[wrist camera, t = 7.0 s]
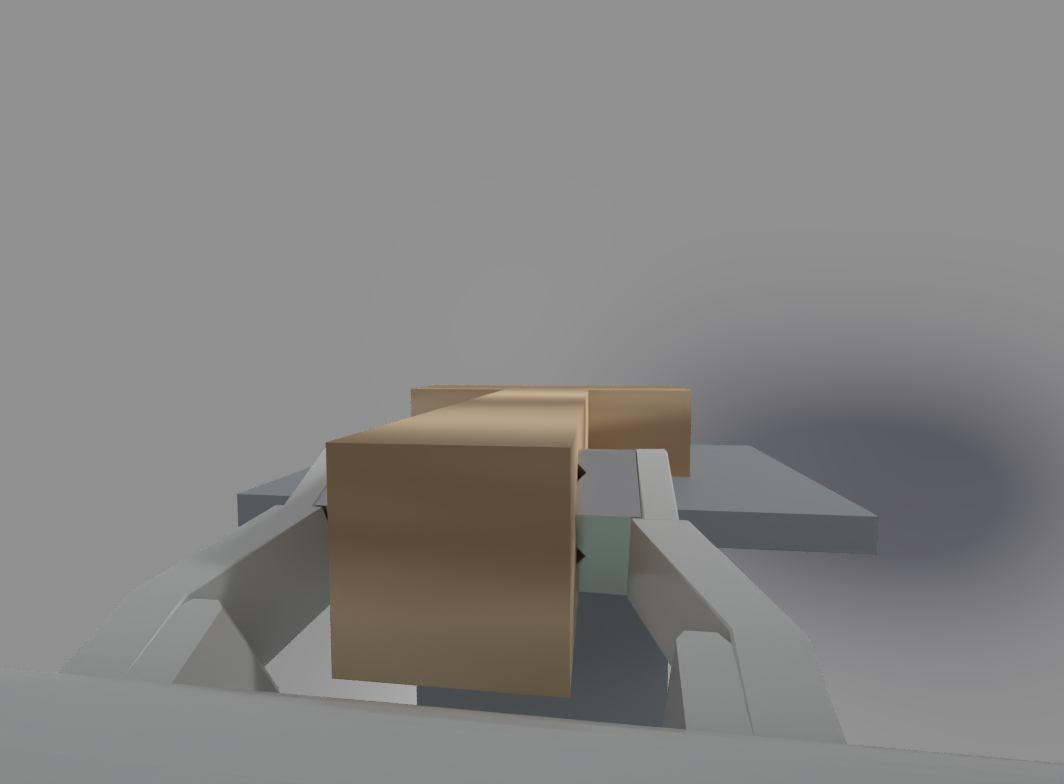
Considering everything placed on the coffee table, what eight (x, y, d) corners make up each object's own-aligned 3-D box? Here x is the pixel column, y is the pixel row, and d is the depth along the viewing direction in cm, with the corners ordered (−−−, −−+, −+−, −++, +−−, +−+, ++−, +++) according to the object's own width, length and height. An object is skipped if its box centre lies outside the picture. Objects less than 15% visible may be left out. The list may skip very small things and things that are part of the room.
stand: (843, 1405, 14) (878, 516, 13) (266, 1260, 17) (237, 494, 15) (737, 956, 25) (749, 446, 24) (396, 907, 28) (387, 439, 26)
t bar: (889, 725, 6) (901, 454, 5) (87, 658, 7) (76, 437, 7) (676, 460, 20) (677, 386, 20) (437, 454, 22) (436, 385, 21)
